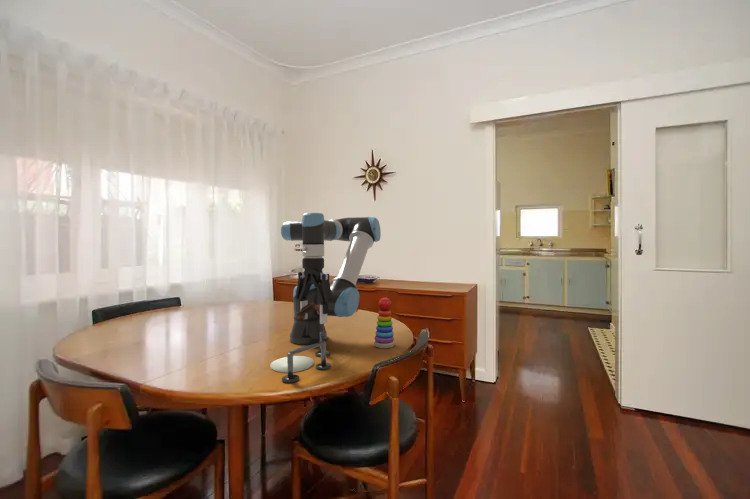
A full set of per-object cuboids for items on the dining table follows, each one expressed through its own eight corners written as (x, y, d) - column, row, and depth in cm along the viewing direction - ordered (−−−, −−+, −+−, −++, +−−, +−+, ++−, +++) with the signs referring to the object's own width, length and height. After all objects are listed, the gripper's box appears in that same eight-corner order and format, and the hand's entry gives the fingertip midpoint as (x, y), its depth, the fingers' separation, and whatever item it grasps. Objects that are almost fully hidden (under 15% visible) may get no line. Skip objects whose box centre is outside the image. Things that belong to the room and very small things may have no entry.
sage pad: (262, 365, 118) (262, 364, 118) (296, 354, 128) (296, 353, 128) (287, 376, 109) (287, 374, 109) (322, 363, 119) (322, 362, 119)
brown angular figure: (320, 329, 118) (307, 308, 117) (300, 338, 122) (288, 317, 122) (336, 313, 129) (324, 293, 128) (318, 321, 133) (306, 303, 132)
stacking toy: (393, 349, 133) (392, 300, 132) (372, 348, 135) (371, 299, 134) (396, 343, 141) (395, 296, 140) (376, 342, 142) (375, 295, 142)
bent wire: (260, 371, 112) (259, 345, 112) (322, 351, 132) (322, 328, 131) (288, 384, 102) (288, 355, 102) (351, 360, 122) (351, 335, 122)
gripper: (284, 256, 128) (285, 318, 129) (327, 258, 114) (327, 327, 115) (301, 256, 134) (301, 315, 134) (343, 257, 120) (343, 323, 120)
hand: (313, 321), depth 125 cm, fingers closed on brown angular figure, 10 cm apart
